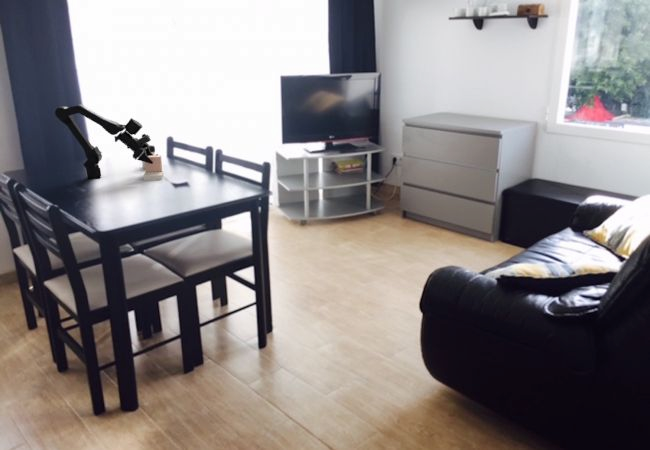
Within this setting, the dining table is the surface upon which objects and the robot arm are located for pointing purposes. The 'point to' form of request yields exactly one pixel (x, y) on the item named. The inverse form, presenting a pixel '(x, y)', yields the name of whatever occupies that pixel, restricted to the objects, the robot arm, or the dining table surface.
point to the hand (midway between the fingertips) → (153, 161)
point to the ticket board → (153, 175)
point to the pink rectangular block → (154, 164)
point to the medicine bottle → (152, 150)
